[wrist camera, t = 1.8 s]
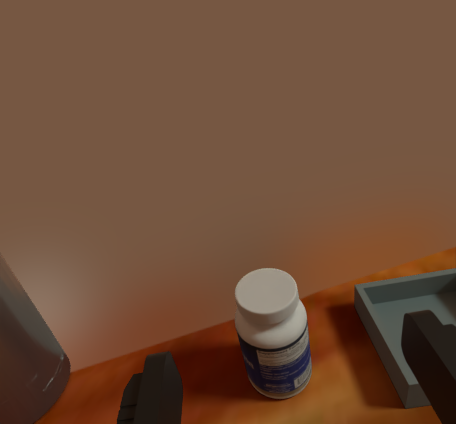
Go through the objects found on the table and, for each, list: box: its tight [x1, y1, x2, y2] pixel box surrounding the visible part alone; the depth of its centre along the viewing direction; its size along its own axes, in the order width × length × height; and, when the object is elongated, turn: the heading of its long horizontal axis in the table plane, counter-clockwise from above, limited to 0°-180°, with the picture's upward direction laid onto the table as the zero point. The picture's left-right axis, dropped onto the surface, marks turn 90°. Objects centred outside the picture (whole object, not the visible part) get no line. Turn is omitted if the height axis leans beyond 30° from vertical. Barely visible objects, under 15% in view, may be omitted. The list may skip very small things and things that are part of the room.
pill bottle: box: [235, 268, 312, 399], centre depth 27 cm, size 6×6×10 cm
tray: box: [354, 268, 456, 409], centre depth 29 cm, size 10×10×3 cm
